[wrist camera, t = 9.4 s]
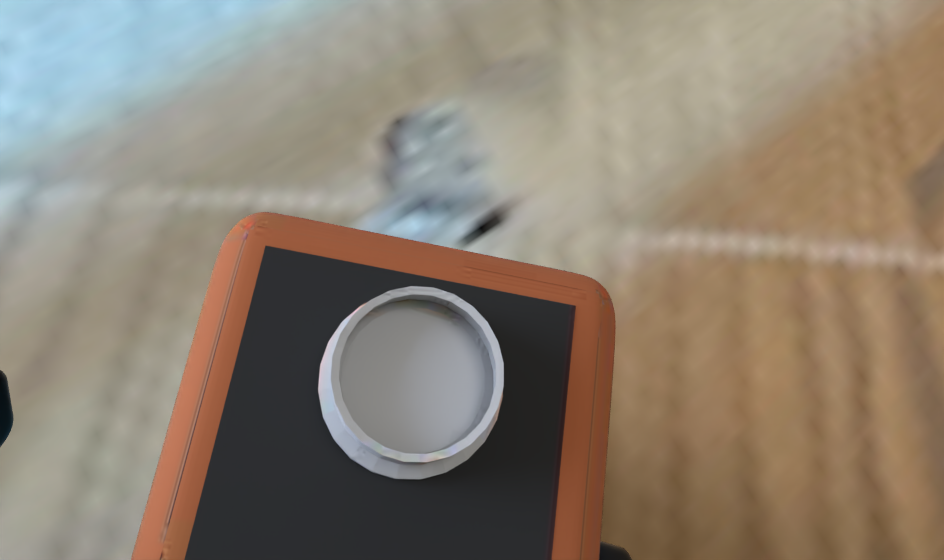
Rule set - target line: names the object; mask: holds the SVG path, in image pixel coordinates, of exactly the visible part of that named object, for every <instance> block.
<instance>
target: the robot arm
mask: <svg viewBox="0 0 944 560" xmlns="http://www.w3.org/2000/svg"><path fill="white" fill-rule="evenodd" d="M12 425H13V412H12V406H11V400H10V393H9V387H8V381H7V377H6V375H5V374H4V373H3V372H2V371H1V370H0V447H1V445H2V444H3V443H4V441H5V440H6V438H7V437H8V435H9V433H10V431H11V428H12ZM599 560H632V559H631V557H630V555H629V553H628V552H627V551H626V550H625V549H624V548H622V547H619V546H616V545H612V544H609V543H605V542H602V541H600V554H599Z"/></svg>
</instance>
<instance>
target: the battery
mask: <svg viewBox="0 0 944 560" xmlns="http://www.w3.org/2000/svg"><path fill="white" fill-rule="evenodd" d="M614 350H615V312H614V307H613V303H612V301H611V298H610V296H609V294H608V292H607V291H606V289H605V288H604V287H603V286H602V285H601V284H600V283H598V282H597V281H596V280H594V279H592V278H590V277H587V276H584V275H580V274H576V273H572V272H567V271H562V270H558V269H553V268H548V267H543V266H538V265H533V264H528V263H523V262H518V261H513V260H508V259H503V258H498V257H493V256H488V255H483V254H478V253H473V252H468V251H463V250H458V249H453V248H448V247H443V246H438V245H433V244H428V243H423V242H418V241H413V240H408V239H403V238H398V237H393V236H388V235H383V234H378V233H373V232H368V231H363V230H358V229H353V228H348V227H343V226H338V225H334V224H329V223H324V222H319V221H314V220H309V219H304V218H299V217H293V216H288V215H282V214H277V213H269V212H260V213H255V214H252V215H249V216H247V217H245V218H244V219H242V220H241V221H239V222H238V223H237V224H236V225H235V226H234V227H233V228H232V229H231V231H230V232H229V233H228V235H227V236H226V238H225V240H224V242H223V244H222V246H221V249H220V251H219V254H218V257H217V260H216V263H215V266H214V269H213V272H212V275H211V279H210V282H209V286H208V289H207V292H206V296H205V299H204V303H203V306H202V310H201V313H200V317H199V320H198V324H197V327H196V331H195V334H194V338H193V342H192V345H191V349H190V352H189V356H188V359H187V363H186V366H185V370H184V373H183V377H182V381H181V384H180V388H179V391H178V395H177V398H176V402H175V405H174V409H173V412H172V416H171V420H170V423H169V427H168V430H167V434H166V437H165V441H164V444H163V448H162V451H161V455H160V459H159V462H158V466H157V469H156V473H155V476H154V480H153V483H152V487H151V490H150V494H149V498H148V501H147V505H146V508H145V512H144V515H143V519H142V522H141V526H140V529H139V533H138V537H137V540H136V544H135V547H134V551H133V554H132V558H131V560H599V554H600V541H601V527H602V514H603V501H604V487H605V474H606V461H607V447H608V434H609V420H610V407H611V394H612V380H613V365H614Z"/></svg>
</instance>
